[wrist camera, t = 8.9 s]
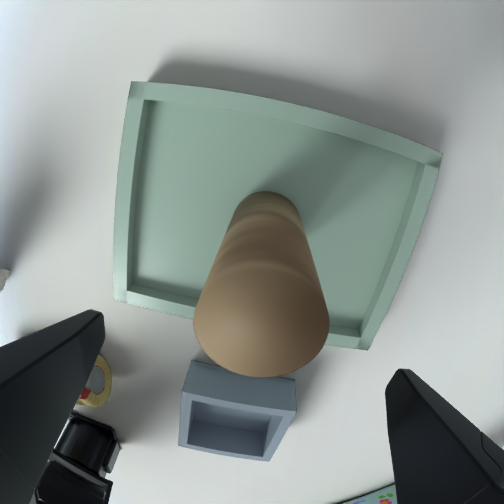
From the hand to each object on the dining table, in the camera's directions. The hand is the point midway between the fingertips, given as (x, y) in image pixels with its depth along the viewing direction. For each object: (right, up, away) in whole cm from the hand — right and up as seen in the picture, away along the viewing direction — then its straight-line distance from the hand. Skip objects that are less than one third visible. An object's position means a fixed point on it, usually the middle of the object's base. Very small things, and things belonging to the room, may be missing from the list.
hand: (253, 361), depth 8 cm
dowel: (+1, +5, +10) cm, 11 cm away
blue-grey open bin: (-2, -10, +17) cm, 20 cm away
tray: (+1, +5, +11) cm, 12 cm away
